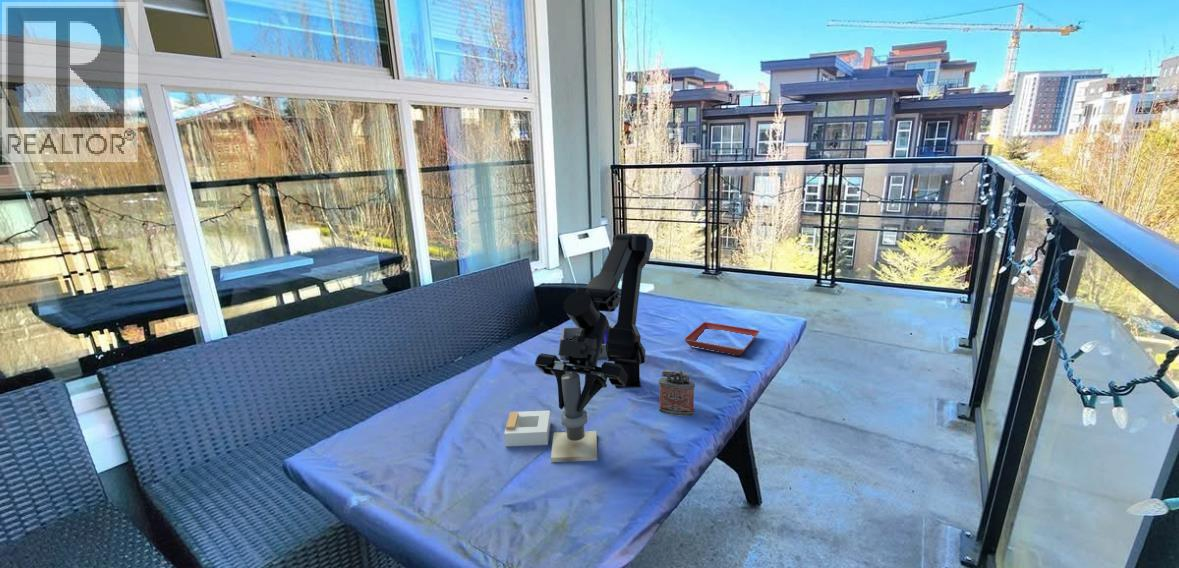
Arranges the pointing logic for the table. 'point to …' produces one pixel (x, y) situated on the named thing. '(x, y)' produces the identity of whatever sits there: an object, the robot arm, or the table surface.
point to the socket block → (527, 428)
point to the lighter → (676, 393)
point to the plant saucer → (698, 331)
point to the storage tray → (572, 331)
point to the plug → (572, 407)
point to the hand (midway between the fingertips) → (569, 410)
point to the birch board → (574, 448)
